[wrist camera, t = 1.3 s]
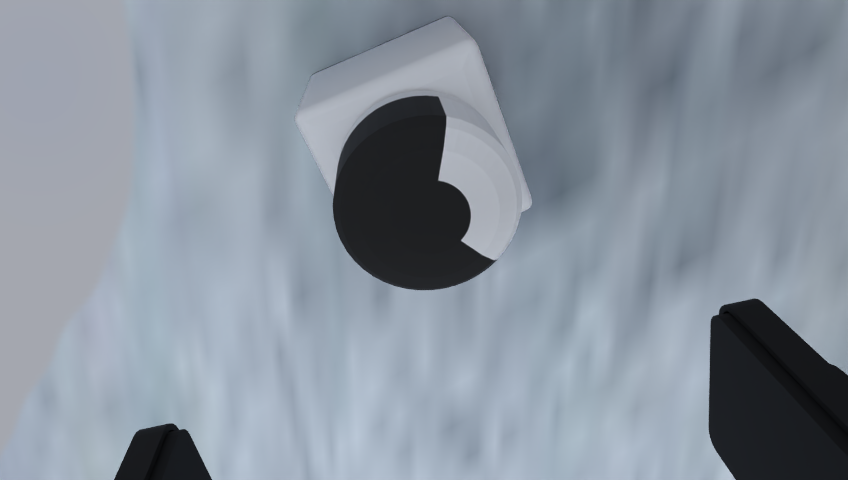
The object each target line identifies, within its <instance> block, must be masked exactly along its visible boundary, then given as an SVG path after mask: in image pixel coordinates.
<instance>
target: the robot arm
mask: <svg viewBox="0 0 848 480" xmlns="http://www.w3.org/2000/svg"><path fill="white" fill-rule="evenodd" d="M709 434H710V438H711V441H712V444H713V446H714V448H715V450H716V451H717V453H718V454H719V456H720V457H721V459H722V460H723V462H724V463H725V465H726V466H727V467H728V469H729V470H730V472H731V473H732V475H733V476H734V478H735V479H736V480H848V375H847V374H845V373H844V372H843V371H842V370H840V369H839V368H838V367H836V366H834V365H831V364H829V363H828V362H827V361H826V360H824V359H823V358H822V357H821V356H820V355H819V354H818V353H817V352H816V351H815V350H814V349H813V348H812V347H810V346H809V345H808V344H807V343H806V342H805V341H804V340H803V339H802V338H801V337H800V336H799V335H797V334H796V333H795V332H794V331H793V330H792V329H791V328H790V327H789V326H788V325H787V324H786V323H785V322H783V321H782V320H781V319H780V318H779V317H778V316H777V315H776V314H775V313H774V312H773V311H772V310H771V309H769V308H768V307H767V306H766V305H765V304H764V303H763V302H762V301H760V300H759V299H750V300H746V301H741V302H736V303H732V304H727V305H724V306H722V307H721V308H720V310H719V315H716V316H713V317H712V319H711V337H710V389H709ZM114 480H212V479H211V477H210V475H209V473H208V471H207V469H206V467H205V465H204V463H203V461H202V459H201V457H200V454H199V452H198V450H197V448H196V446H195V444H194V442H193V440H192V438H191V436H190V434H189V433H188V431H187V430H185V429H182V430H179V429H178V428H177V426H176V425H174V424H165V425H160V426H156V427H151V428H146V429H142V430H139V431H137V432H136V434H135V435H134V437H133V439H132V441H131V443H130V446H129V448H128V450H127V452H126V455H125V457H124V459H123V461H122V463H121V466H120V468H119V470H118V472H117V474H116V477H115V479H114Z"/></svg>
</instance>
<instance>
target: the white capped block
mask: <svg viewBox="0 0 848 480" xmlns="http://www.w3.org/2000/svg"><path fill="white" fill-rule="evenodd" d="M295 122H296V124H297V126H298V128H299V130H300V132H301V134H302V136H303V138H304V140H305V142H306V144H307V146H308V148H309V150H310V152H311V154H312V156H313V158H314V160H315V162H316V163H317V165H318V167H319V169H320V171H321V173H322V175H323V177H324V179H325V181H326V183H327V185H328V187H329V189H330V191H331V193H332V195H333V197H334V198H333V213H334V221H335V225H336V229H337V232H338V235H339V237H340V240H341V242H342V243H343V245H344V247H345V249H346V250H347V252H348V253H349V254H350V256H351V257H352V258H353V259H354V261H355V262H356V263H357V264H359V265H360V266H361V267H362V268H363V269H364V270H365V271H367V272H368V273H370V274H371V275H372V276H374V277H376V278H378V279H380V280H381V281H383V282H386V283H389V284H391V285H394V286H397V287H402V288H406V289H413V290H435V289H443V288H447V287H451V286H455V285H458V284H461V283H463V282H466V281H468V280H470V279H472V278H474V277H475V276H477V275H479V274H480V273H482V272H483V271H485V270H486V269H487V268H489V267H490V266H491V265H492V264H493V263H494V262H495V261H496V260H497V259H498V258H499V257H500V256H501V255H502V254H503V252H504V251H505V250H506V248H507V247H508V245H509V244H510V242H511V241H512V239H513V236H514V234H515V232H516V230H517V227H518V224H519V220H520V217H521V212H523V211H526V210H527V209H529V208H530V207H531V205H532V198H531V195H530V192H529V189H528V186H527V183H526V181H525V178H524V175H523V172H522V169H521V166H520V164H519V161H518V158H517V155H516V152H515V149H514V146H513V144H512V141H511V138H510V135H509V132H508V129H507V126H506V124H505V121H504V118H503V115H502V112H501V109H500V107H499V104H498V101H497V98H496V95H495V92H494V89H493V87H492V84H491V81H490V78H489V75H488V72H487V69H486V67H485V64H484V61H483V58H482V55H481V52H480V49H479V47H478V44H477V43H476V41H475V40H474V39H473V38H472V37H471V36H470V35H469V34H468V33H467V32H466V31H465V30H464V29H463V28H462V27H461V26H460V25H459V24H458V23H457V22H456V21H455V20H454V19H453V18H452V17H444V18H442V19H439V20H437V21H435V22H432V23H430V24H428V25H426V26H423V27H421V28H419V29H416V30H414V31H412V32H409V33H407V34H405V35H403V36H400V37H398V38H396V39H393V40H391V41H389V42H386V43H384V44H382V45H379V46H377V47H375V48H373V49H370V50H368V51H366V52H363V53H361V54H359V55H356V56H354V57H352V58H350V59H347V60H345V61H343V62H340V63H338V64H336V65H333V66H331V67H329V68H327V69H324V70H322V71H320V72H317V73H315V74H313V75H312V76H311V78H310V80H309V83H308V85H307V87H306V90H305V92H304V95H303V97H302V100H301V102H300V105H299V107H298V109H297V112H296V115H295Z"/></svg>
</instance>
